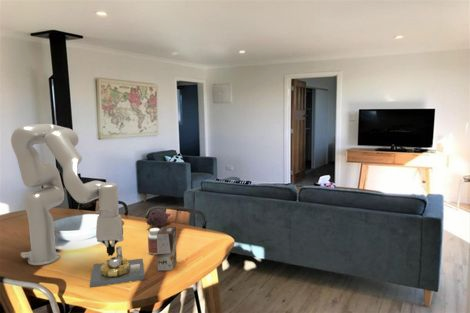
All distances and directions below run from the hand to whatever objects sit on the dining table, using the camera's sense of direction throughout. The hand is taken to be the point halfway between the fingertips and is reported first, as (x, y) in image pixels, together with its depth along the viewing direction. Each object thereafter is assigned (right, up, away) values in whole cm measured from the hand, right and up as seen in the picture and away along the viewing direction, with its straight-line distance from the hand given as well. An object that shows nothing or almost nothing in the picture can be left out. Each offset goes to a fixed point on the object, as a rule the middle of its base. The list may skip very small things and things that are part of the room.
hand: (111, 254), depth 152 cm
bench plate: (+5, -7, -6) cm, 10 cm away
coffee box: (+24, -6, +2) cm, 24 cm away
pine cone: (+9, +2, +51) cm, 52 cm away
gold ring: (+4, -4, -5) cm, 8 cm away
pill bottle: (+15, -4, +16) cm, 22 cm away
